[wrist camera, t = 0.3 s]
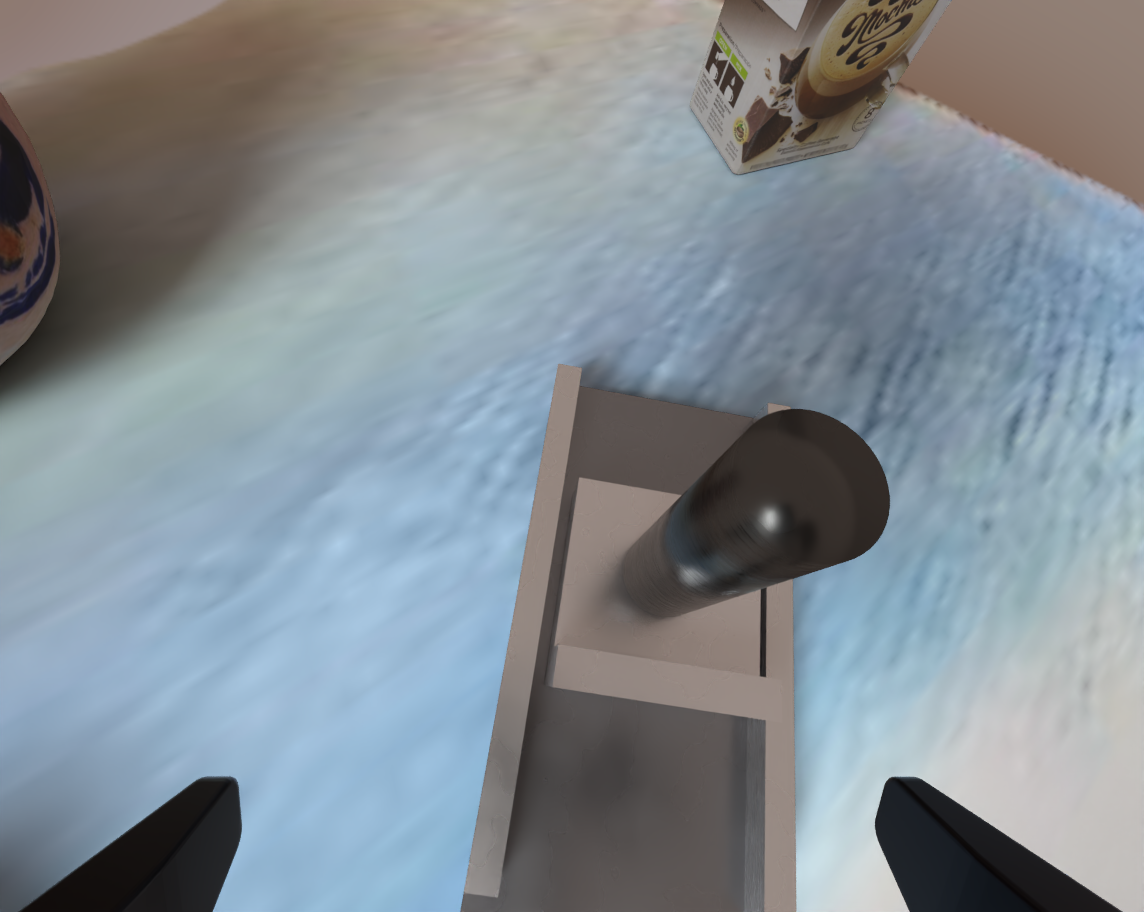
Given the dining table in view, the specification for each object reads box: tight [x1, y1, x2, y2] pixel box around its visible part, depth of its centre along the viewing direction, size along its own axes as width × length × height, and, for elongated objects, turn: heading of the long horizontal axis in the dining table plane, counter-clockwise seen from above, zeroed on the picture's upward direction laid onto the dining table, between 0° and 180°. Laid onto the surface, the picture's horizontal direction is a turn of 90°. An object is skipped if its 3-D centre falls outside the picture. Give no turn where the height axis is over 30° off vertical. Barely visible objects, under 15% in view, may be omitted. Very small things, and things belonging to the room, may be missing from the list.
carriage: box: [544, 409, 890, 723], centre depth 15 cm, size 7×7×12 cm
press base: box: [461, 364, 796, 912], centre depth 18 cm, size 30×10×5 cm, turn 172°
